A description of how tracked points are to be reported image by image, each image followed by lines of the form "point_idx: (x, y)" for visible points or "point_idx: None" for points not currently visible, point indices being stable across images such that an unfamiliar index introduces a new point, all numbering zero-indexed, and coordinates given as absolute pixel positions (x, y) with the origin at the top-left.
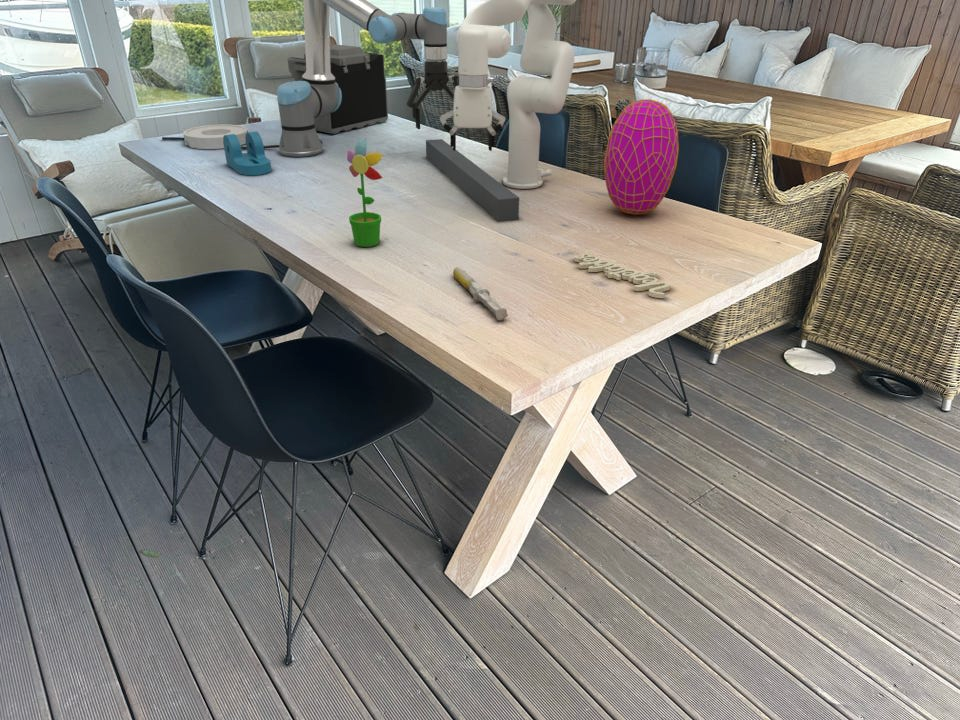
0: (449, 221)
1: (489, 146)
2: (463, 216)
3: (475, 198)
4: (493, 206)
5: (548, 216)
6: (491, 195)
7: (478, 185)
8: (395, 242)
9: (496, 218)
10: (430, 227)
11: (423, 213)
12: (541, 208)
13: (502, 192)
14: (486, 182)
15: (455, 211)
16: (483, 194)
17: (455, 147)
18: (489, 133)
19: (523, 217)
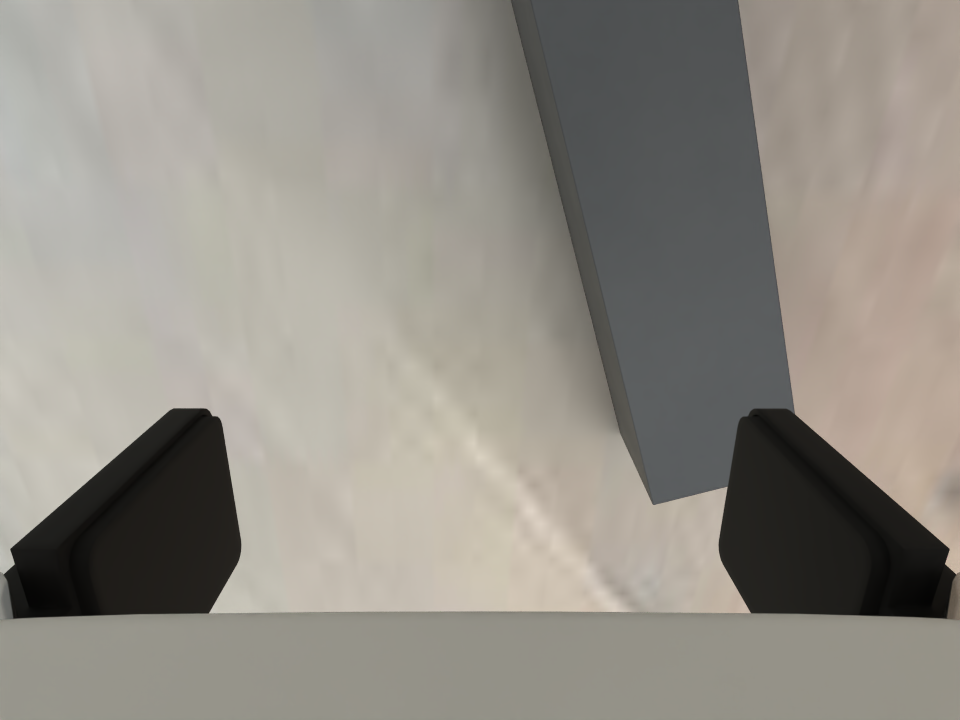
0: (354, 424)
1: (745, 592)
2: (430, 346)
3: (519, 23)
4: (616, 389)
5: (930, 353)
6: (620, 378)
7: (547, 85)
8: None
9: (616, 413)
10: (264, 504)
11: (185, 290)
12: (948, 200)
13: (710, 357)
14: (626, 60)
15: (379, 255)
16: (573, 208)
17: (223, 581)
18: (898, 551)
19: None
